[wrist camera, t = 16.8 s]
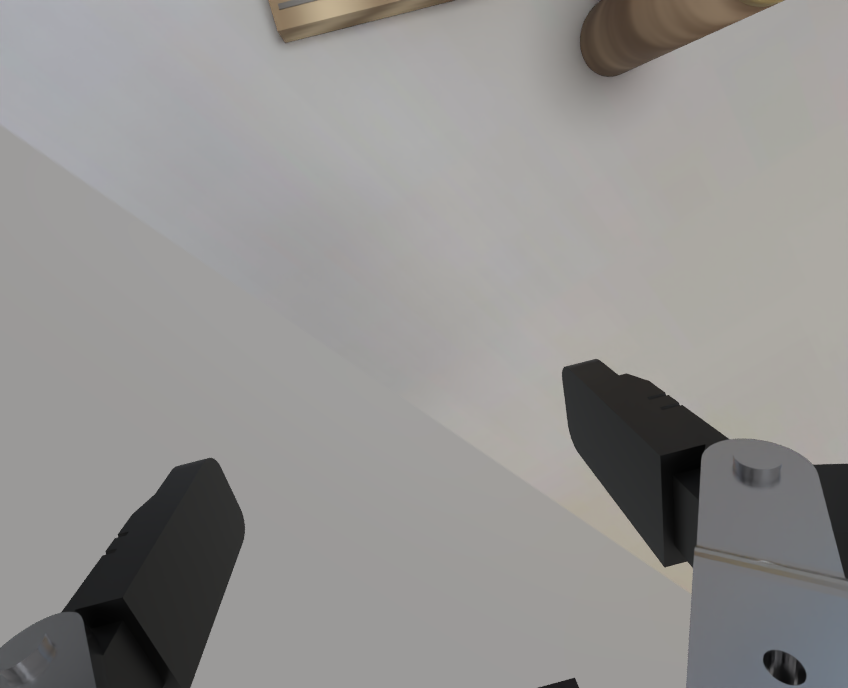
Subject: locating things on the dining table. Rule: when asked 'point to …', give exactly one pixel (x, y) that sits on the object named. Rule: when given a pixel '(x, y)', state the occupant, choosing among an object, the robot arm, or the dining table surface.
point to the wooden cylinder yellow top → (653, 28)
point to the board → (335, 14)
